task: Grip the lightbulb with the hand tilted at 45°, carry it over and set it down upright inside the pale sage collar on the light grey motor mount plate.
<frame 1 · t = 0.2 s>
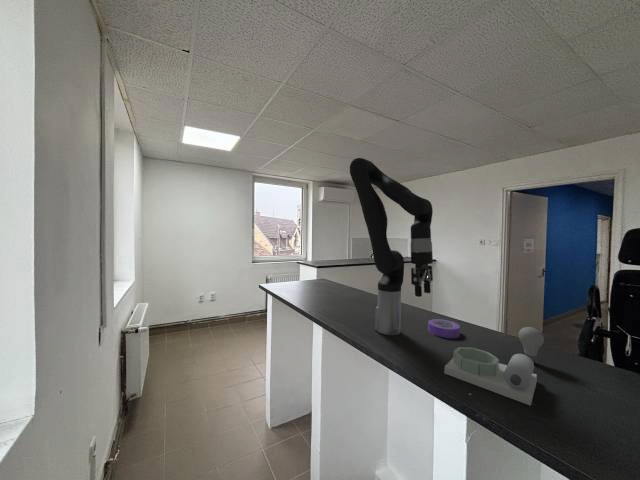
hand: (423, 294, 93), 18 cm above the countertop, tool pointing down, fingers open, 8 cm apart
masking tape: (443, 333, 103), on the countertop
lightbulb: (530, 362, 79), on the countertop
motor mount: (489, 377, 70), on the countertop
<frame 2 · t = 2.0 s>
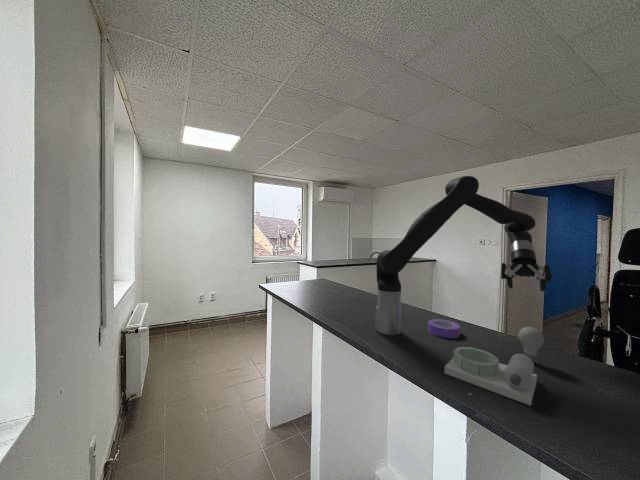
hand: (526, 288, 89), 21 cm above the countertop, tool tilted 45°, fingers open, 8 cm apart
nothing on the countertop moved.
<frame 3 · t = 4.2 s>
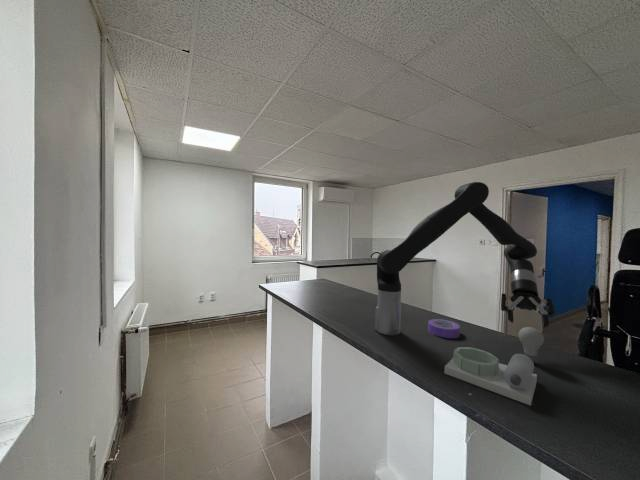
hand: (528, 324, 84), 10 cm above the countertop, tool tilted 45°, fingers open, 8 cm apart
nothing on the countertop moved.
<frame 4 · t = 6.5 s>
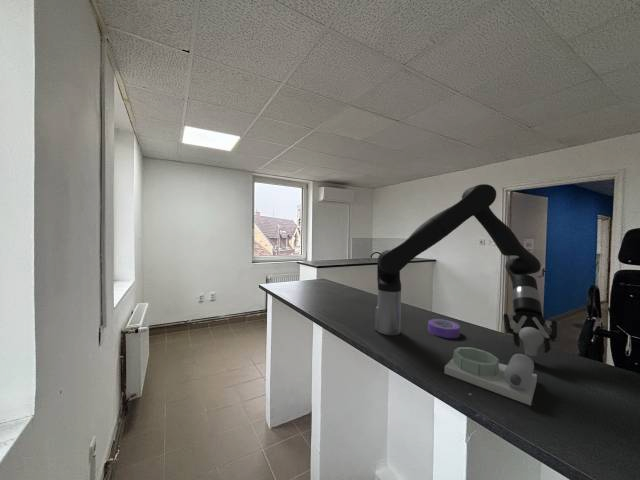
hand: (531, 348, 78), 5 cm above the countertop, tool tilted 45°, fingers closed on lightbulb, 6 cm apart
lightbulb: (530, 362, 79), on the countertop, touching gripper
everything else where it was.
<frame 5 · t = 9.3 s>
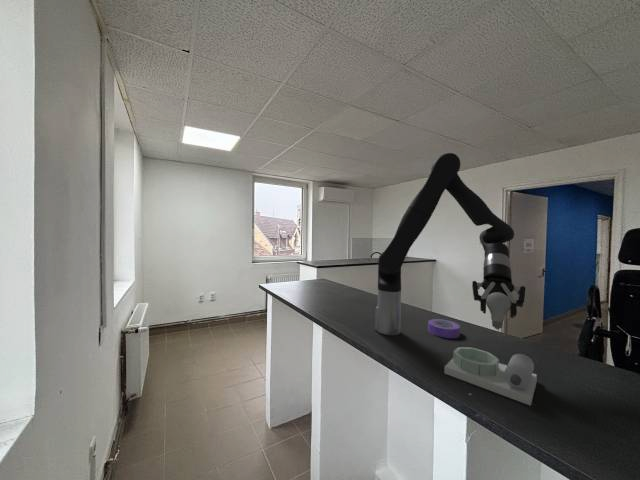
hand: (498, 314, 74), 17 cm above the countertop, tool tilted 45°, fingers closed on lightbulb, 6 cm apart
lightbulb: (496, 329, 75), point 11 cm above the countertop, touching gripper
everything else where it was.
when the fingers open (8 cm above the countertop, at t = 12.6 s): lightbulb drops 1 cm, resting on motor mount.
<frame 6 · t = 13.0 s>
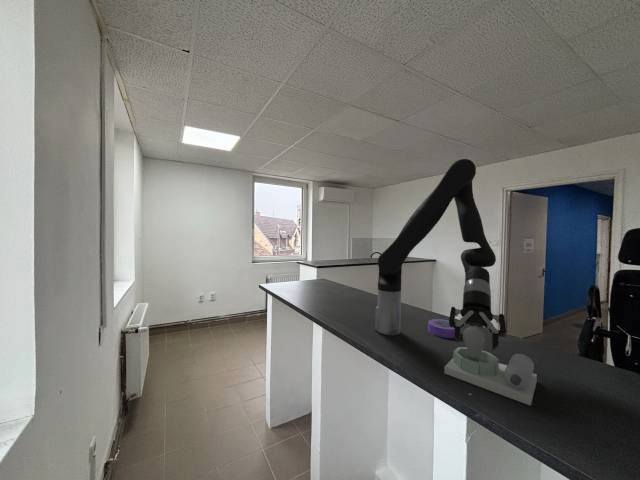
hand: (475, 344, 71), 9 cm above the countertop, tool tilted 45°, fingers open, 8 cm apart
lightbulb: (473, 365, 73), point 2 cm above the countertop, touching motor mount
everything else where it was.
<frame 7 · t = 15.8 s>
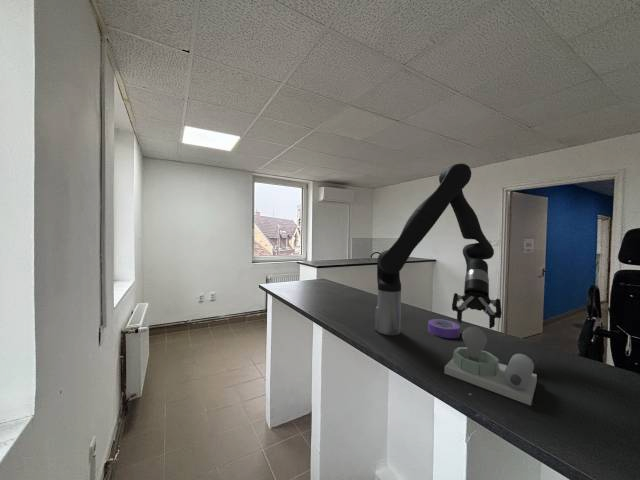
hand: (475, 324, 82), 11 cm above the countertop, tool tilted 45°, fingers open, 8 cm apart
nothing on the countertop moved.
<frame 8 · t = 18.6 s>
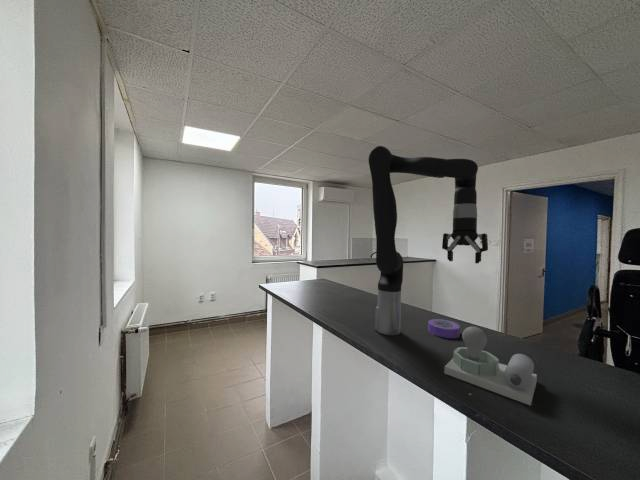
hand: (463, 262, 91), 30 cm above the countertop, tool pointing down, fingers open, 8 cm apart
nothing on the countertop moved.
at the end: lightbulb 0.4 cm from the target spot on the motor mount, point 1.8 cm above the motor mount's base; lightbulb tilted 0°; the gripper is holding nothing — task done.
